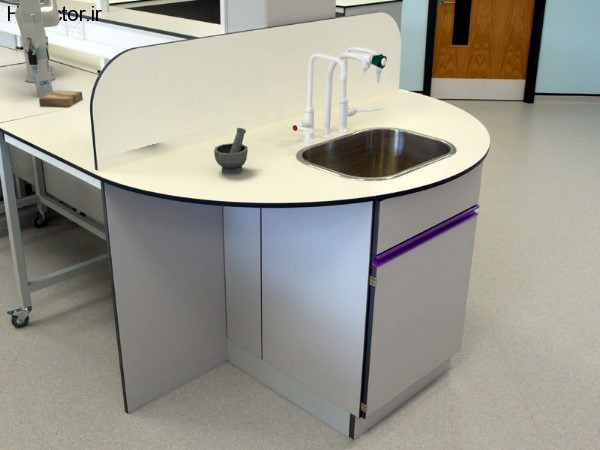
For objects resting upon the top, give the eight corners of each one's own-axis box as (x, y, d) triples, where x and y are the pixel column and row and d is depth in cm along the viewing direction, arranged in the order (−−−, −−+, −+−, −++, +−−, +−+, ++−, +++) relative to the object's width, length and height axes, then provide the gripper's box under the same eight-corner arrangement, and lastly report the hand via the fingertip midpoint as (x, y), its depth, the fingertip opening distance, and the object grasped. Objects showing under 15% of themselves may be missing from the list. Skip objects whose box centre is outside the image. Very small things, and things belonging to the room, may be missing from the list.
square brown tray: (54, 98, 285) (53, 90, 284) (82, 99, 283) (81, 91, 282) (40, 106, 274) (38, 98, 273) (69, 107, 272) (68, 99, 271)
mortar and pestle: (233, 179, 203) (230, 139, 197) (208, 172, 208) (206, 133, 202) (258, 167, 211) (256, 128, 206) (234, 161, 216) (232, 123, 211)
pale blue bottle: (55, 95, 288) (47, 45, 280) (39, 98, 285) (30, 47, 277) (51, 92, 293) (43, 43, 285) (35, 94, 290) (26, 45, 282)
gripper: (34, 14, 285) (41, 57, 292) (11, 21, 269) (19, 66, 276) (51, 14, 284) (58, 57, 291) (30, 21, 268) (37, 67, 275)
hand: (39, 62), depth 284 cm, fingers open, 9 cm apart
